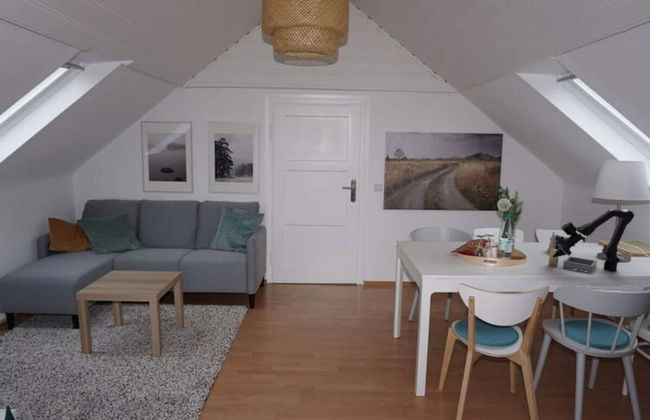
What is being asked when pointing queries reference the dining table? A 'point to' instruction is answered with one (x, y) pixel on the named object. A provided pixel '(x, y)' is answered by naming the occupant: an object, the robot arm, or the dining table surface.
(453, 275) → the dining table surface
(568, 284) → the dining table surface
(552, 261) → the brass canister
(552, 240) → the ceramic cottage
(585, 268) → the charcoal bin
